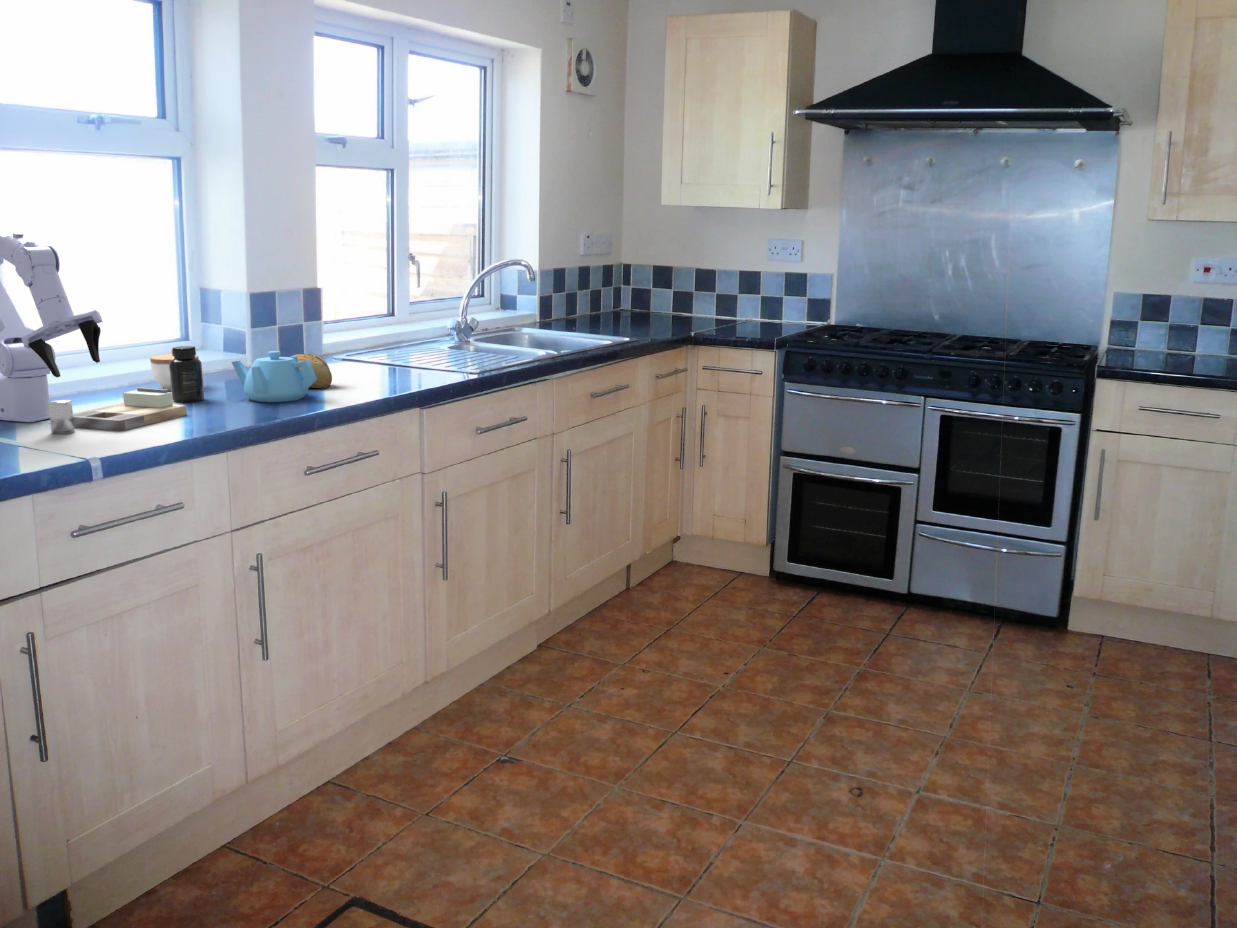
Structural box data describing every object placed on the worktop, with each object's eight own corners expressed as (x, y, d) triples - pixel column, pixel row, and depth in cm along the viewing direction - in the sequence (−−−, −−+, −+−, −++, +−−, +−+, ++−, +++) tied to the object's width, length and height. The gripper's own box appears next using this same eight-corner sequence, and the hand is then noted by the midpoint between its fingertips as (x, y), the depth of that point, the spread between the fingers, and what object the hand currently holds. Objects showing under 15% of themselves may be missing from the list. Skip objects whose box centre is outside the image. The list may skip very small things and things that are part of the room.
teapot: (251, 406, 245) (248, 357, 242) (232, 396, 257) (229, 350, 255) (320, 400, 253) (317, 352, 251) (298, 391, 265) (295, 346, 263)
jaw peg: (46, 433, 213) (43, 402, 212) (63, 430, 217) (59, 399, 215) (63, 435, 212) (59, 404, 210) (79, 431, 215) (76, 400, 214)
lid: (124, 405, 232) (122, 389, 231) (138, 402, 236) (136, 387, 235) (159, 407, 229) (158, 392, 228) (173, 404, 233) (171, 389, 232)
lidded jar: (142, 390, 264) (139, 351, 262) (172, 384, 274) (169, 346, 272) (181, 393, 261) (177, 353, 259) (210, 386, 271) (207, 348, 269)
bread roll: (287, 382, 279) (286, 350, 277) (341, 385, 275) (340, 353, 273) (265, 388, 270) (263, 355, 268) (321, 391, 266) (319, 358, 264)
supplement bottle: (208, 398, 254) (204, 345, 252) (198, 403, 248) (194, 349, 245) (178, 397, 254) (174, 345, 252) (167, 403, 248) (162, 348, 245)
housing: (62, 426, 220) (61, 416, 220) (132, 410, 238) (131, 401, 237) (120, 431, 216) (119, 420, 215) (187, 414, 233) (186, 405, 233)
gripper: (5, 311, 209) (29, 377, 208) (81, 284, 211) (106, 349, 210) (22, 322, 216) (45, 386, 215) (95, 295, 218) (119, 358, 217)
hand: (76, 368), depth 213 cm, fingers open, 7 cm apart
